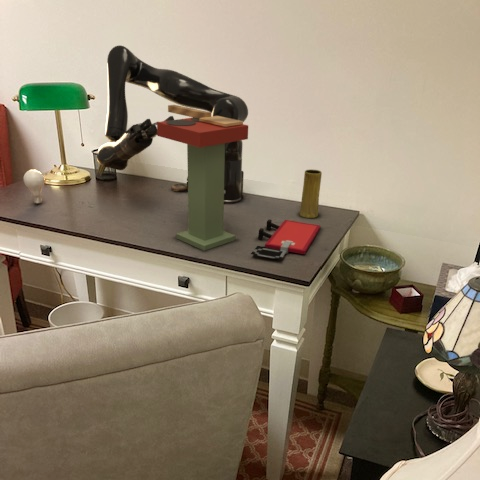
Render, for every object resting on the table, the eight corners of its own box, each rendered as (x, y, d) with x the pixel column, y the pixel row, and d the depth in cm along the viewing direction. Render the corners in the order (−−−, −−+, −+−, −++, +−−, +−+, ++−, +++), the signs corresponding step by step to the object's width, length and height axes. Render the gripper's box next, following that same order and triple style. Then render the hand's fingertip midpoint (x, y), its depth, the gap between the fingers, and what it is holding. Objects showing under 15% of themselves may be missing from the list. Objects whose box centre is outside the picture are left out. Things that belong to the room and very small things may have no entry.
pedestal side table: (161, 233, 153) (156, 121, 137) (205, 221, 163) (205, 115, 148) (201, 251, 142) (201, 132, 126) (245, 236, 153) (249, 124, 137)
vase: (320, 214, 173) (325, 170, 166) (314, 219, 168) (319, 175, 161) (302, 211, 175) (307, 168, 168) (296, 216, 170) (300, 172, 163)
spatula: (162, 112, 149) (161, 105, 148) (179, 110, 153) (179, 104, 152) (225, 127, 133) (225, 119, 132) (243, 124, 137) (243, 117, 136)
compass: (174, 186, 194) (173, 166, 190) (194, 188, 193) (194, 168, 189) (167, 192, 187) (166, 172, 184) (188, 194, 186) (188, 174, 182)
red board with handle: (243, 256, 140) (298, 266, 136) (244, 246, 138) (299, 256, 135) (273, 222, 165) (319, 229, 161) (273, 213, 163) (321, 221, 160)
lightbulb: (41, 207, 169) (36, 173, 163) (23, 205, 170) (17, 171, 164) (51, 201, 174) (46, 168, 169) (34, 199, 175) (28, 166, 170)
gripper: (112, 131, 163) (137, 110, 150) (149, 126, 171) (176, 105, 159) (121, 155, 164) (146, 135, 151) (157, 149, 173) (184, 130, 160)
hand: (161, 120), depth 155 cm, fingers open, 8 cm apart
